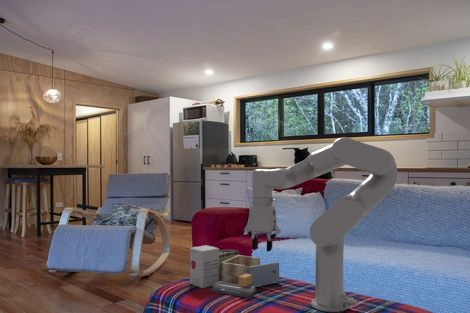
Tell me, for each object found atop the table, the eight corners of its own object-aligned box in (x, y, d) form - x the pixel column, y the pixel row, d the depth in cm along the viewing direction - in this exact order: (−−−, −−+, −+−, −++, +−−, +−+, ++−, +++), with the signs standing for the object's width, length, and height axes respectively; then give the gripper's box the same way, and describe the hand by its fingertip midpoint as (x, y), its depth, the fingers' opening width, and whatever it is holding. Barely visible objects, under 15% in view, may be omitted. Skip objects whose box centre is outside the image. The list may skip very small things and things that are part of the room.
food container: (230, 269, 185) (230, 248, 186) (239, 272, 180) (239, 250, 181) (209, 274, 177) (209, 251, 178) (217, 276, 173) (217, 254, 173)
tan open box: (260, 278, 170) (260, 257, 171) (244, 288, 156) (244, 265, 156) (237, 275, 175) (237, 255, 176) (220, 284, 161) (220, 262, 161)
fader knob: (251, 288, 152) (251, 274, 152) (246, 292, 147) (246, 277, 147) (244, 287, 153) (244, 273, 153) (238, 290, 148) (238, 276, 148)
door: (280, 282, 164) (280, 262, 164) (248, 289, 154) (248, 267, 155) (277, 281, 165) (277, 261, 166) (245, 287, 156) (245, 266, 157)
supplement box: (189, 283, 162) (189, 247, 163) (206, 279, 168) (206, 244, 169) (202, 288, 156) (202, 251, 156) (219, 284, 162) (219, 247, 162)
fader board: (256, 291, 152) (256, 285, 152) (248, 297, 145) (248, 291, 145) (220, 286, 159) (220, 280, 159) (210, 291, 152) (210, 285, 152)
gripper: (286, 201, 147) (287, 250, 147) (246, 200, 155) (246, 246, 154) (280, 203, 141) (280, 254, 140) (237, 201, 148) (237, 249, 148)
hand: (262, 249), depth 147 cm, fingers open, 4 cm apart
